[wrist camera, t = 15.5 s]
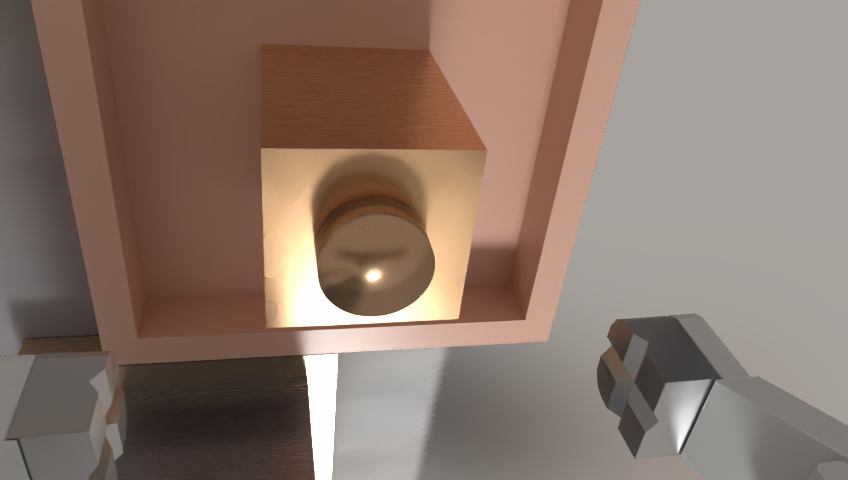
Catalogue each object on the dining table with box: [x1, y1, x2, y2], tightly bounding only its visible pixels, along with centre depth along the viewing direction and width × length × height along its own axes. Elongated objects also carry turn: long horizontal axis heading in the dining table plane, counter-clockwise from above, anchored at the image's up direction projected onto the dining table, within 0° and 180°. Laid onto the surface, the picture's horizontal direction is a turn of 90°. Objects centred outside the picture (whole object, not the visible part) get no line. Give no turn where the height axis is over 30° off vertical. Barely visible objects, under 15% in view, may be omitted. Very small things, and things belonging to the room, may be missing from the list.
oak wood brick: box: [261, 44, 487, 328], centre depth 17 cm, size 4×4×7 cm
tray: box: [30, 0, 640, 365], centre depth 19 cm, size 14×14×2 cm
